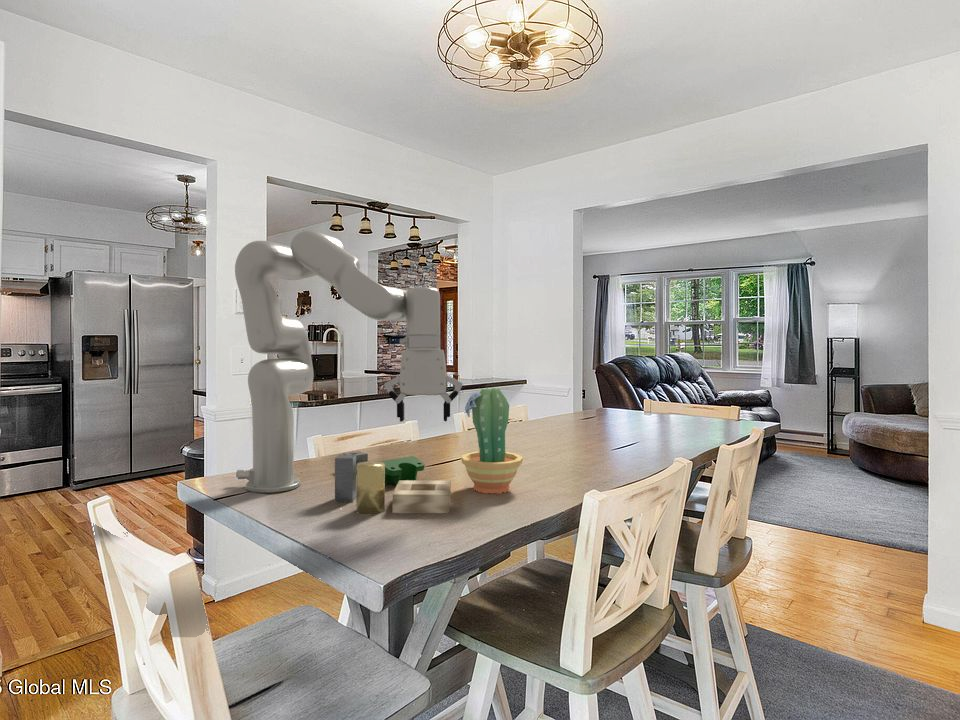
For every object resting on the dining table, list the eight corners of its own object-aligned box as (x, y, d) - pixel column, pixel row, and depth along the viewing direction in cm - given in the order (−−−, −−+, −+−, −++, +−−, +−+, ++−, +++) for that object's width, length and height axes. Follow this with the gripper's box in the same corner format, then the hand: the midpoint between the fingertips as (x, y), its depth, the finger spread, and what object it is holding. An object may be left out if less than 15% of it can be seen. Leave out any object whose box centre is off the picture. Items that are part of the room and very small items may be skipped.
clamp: (392, 503, 145) (385, 474, 141) (379, 492, 149) (372, 465, 145) (429, 478, 152) (424, 451, 147) (416, 469, 156) (410, 442, 151)
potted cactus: (480, 478, 153) (481, 384, 152) (533, 486, 146) (534, 387, 145) (448, 491, 140) (449, 389, 139) (504, 501, 132) (506, 392, 131)
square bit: (334, 502, 130) (334, 458, 130) (338, 497, 134) (338, 454, 134) (352, 502, 130) (352, 458, 130) (356, 497, 134) (356, 454, 134)
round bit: (353, 514, 121) (354, 467, 121) (359, 506, 127) (359, 461, 127) (382, 514, 121) (382, 467, 121) (386, 506, 127) (386, 461, 127)
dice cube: (342, 471, 160) (342, 453, 160) (358, 468, 164) (358, 451, 164) (351, 474, 157) (351, 456, 156) (367, 471, 160) (367, 453, 160)
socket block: (392, 513, 122) (392, 494, 122) (399, 497, 134) (399, 480, 134) (449, 513, 123) (449, 494, 122) (450, 497, 135) (450, 480, 134)
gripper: (381, 343, 123) (382, 423, 124) (462, 343, 124) (462, 422, 124) (386, 343, 131) (386, 418, 131) (462, 343, 131) (462, 418, 132)
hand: (423, 420), depth 128 cm, fingers open, 9 cm apart
